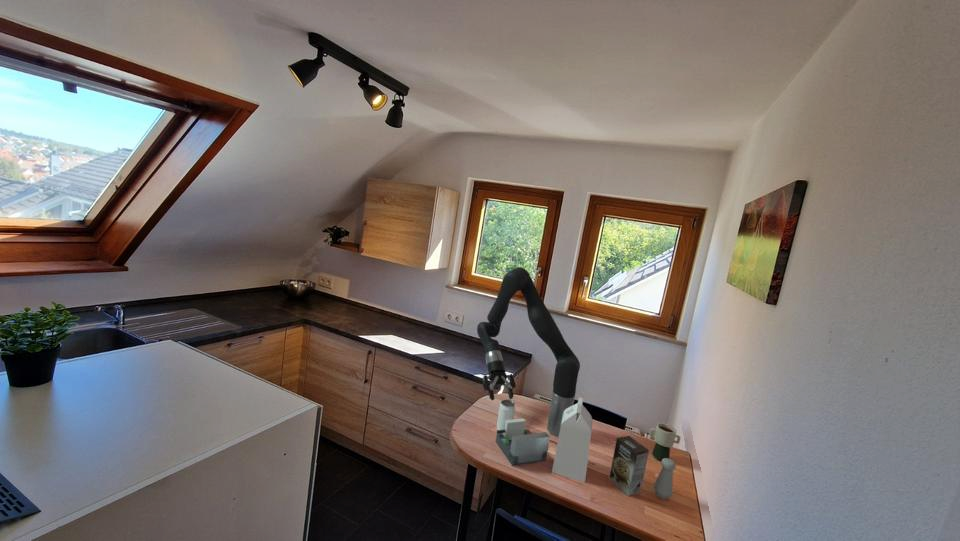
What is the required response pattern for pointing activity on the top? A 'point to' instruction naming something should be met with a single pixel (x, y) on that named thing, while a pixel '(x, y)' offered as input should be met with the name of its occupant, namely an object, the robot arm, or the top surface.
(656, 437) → the character mug
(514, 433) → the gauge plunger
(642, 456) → the coffee box
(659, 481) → the salt shaker
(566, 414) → the milk
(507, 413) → the can
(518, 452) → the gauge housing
